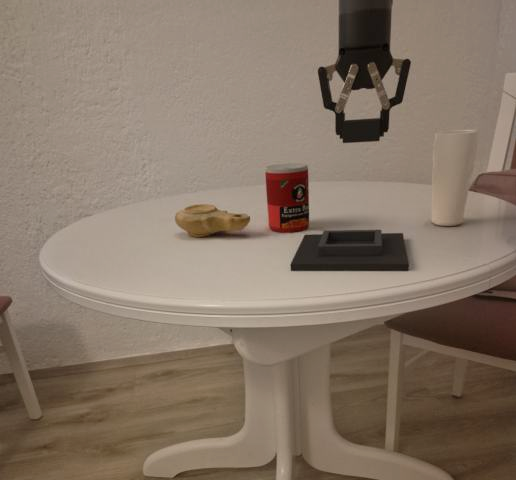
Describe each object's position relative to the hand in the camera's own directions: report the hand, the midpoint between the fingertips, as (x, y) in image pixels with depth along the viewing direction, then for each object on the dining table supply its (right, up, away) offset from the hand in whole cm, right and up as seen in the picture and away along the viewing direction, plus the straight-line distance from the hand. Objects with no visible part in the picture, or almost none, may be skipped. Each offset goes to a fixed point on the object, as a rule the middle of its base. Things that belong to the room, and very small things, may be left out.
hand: (361, 136), depth 77 cm
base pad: (-2, -19, -4) cm, 20 cm away
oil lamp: (-25, -13, +13) cm, 31 cm away
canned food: (-11, -11, +14) cm, 21 cm away
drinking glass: (+17, -12, +9) cm, 22 cm away
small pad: (0, 0, 0) cm, 1 cm away
